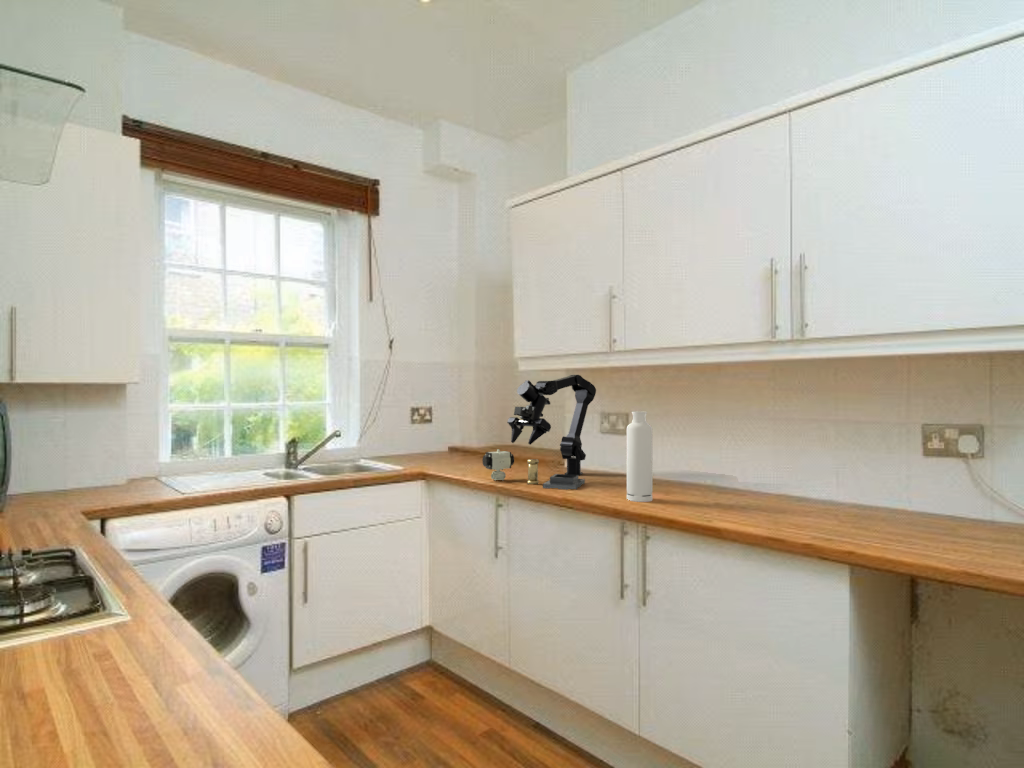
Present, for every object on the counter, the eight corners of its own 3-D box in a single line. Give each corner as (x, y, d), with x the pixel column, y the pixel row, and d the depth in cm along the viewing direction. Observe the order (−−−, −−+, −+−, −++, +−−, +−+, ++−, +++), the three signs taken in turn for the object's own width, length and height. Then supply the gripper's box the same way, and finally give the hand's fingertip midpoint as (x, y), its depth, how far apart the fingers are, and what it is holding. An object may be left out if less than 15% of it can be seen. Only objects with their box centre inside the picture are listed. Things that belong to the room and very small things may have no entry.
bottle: (628, 496, 188) (628, 411, 188) (653, 498, 185) (653, 411, 186) (624, 500, 180) (624, 412, 180) (651, 502, 177) (651, 412, 178)
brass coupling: (529, 482, 216) (529, 458, 216) (539, 483, 215) (539, 459, 215) (525, 484, 212) (526, 460, 212) (536, 485, 211) (536, 460, 211)
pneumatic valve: (482, 480, 222) (482, 449, 222) (509, 478, 227) (509, 448, 227) (487, 482, 217) (487, 450, 217) (515, 480, 222) (515, 449, 222)
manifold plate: (553, 481, 219) (553, 472, 219) (584, 483, 215) (584, 473, 215) (542, 488, 204) (542, 478, 204) (575, 489, 200) (575, 479, 200)
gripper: (506, 397, 226) (491, 431, 220) (541, 397, 213) (525, 433, 207) (523, 412, 233) (508, 445, 227) (558, 413, 219) (543, 448, 213)
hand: (520, 443), depth 218 cm, fingers open, 9 cm apart
